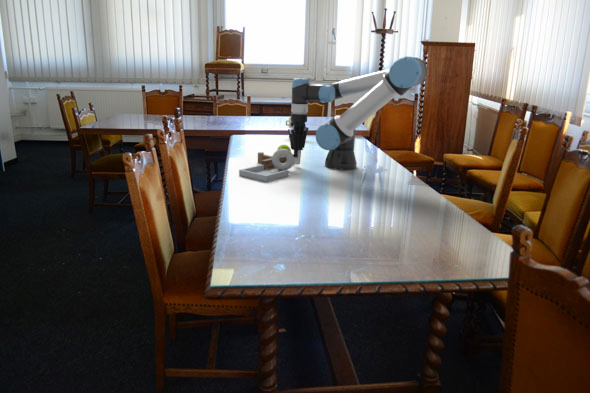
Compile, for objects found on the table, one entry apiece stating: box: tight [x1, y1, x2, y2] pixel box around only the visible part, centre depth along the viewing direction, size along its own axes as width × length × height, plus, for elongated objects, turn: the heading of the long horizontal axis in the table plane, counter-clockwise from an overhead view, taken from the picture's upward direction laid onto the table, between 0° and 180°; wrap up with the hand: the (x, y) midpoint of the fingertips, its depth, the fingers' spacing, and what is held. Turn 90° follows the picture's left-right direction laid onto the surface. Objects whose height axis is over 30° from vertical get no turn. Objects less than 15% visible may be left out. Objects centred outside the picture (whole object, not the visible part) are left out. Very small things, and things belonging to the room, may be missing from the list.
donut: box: [271, 149, 294, 171], centre depth 215 cm, size 10×4×10 cm, turn 91°
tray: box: [238, 164, 290, 183], centre depth 205 cm, size 15×15×2 cm
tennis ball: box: [276, 144, 292, 153], centre depth 241 cm, size 7×7×7 cm
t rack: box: [257, 151, 294, 170], centre depth 228 cm, size 12×22×5 cm, turn 143°
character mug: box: [285, 116, 293, 139], centre depth 299 cm, size 11×7×13 cm, turn 94°
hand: (296, 163), depth 224 cm, fingers closed
